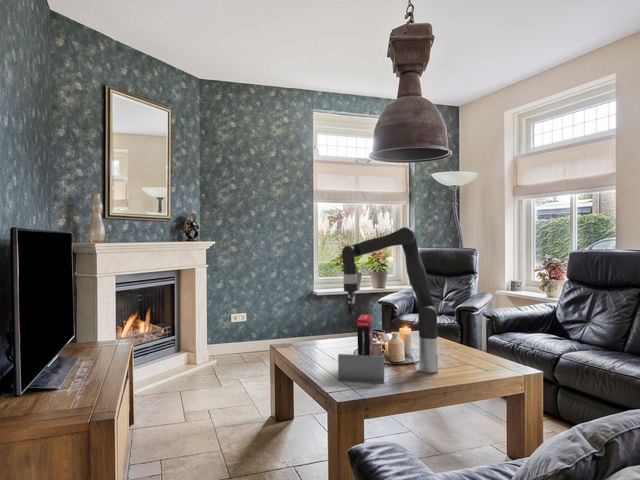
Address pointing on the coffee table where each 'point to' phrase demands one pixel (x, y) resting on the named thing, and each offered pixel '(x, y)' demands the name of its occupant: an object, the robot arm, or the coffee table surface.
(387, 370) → the coffee table surface
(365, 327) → the graphics card box
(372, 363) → the bracket
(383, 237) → the robot arm
